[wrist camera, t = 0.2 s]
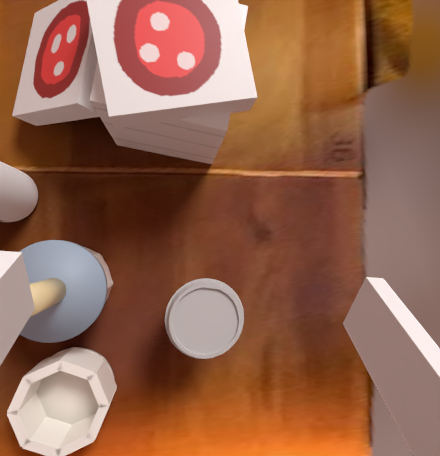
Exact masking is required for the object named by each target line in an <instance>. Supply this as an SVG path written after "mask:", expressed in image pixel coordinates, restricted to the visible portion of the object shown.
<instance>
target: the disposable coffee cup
mask: <svg viewBox="0 0 440 456" xmlns="http://www.w3.org/2000/svg"><path fill="white" fill-rule="evenodd" d="M243 324H244V312H243V307H242V304H241V301H240V299H239V297H238V296H237V294H236V293H235V292H234V291H233V289H232V288H230V287H229V286H228V285H227V284H225V283H223V282H221V281H218V280H215V279H208V278H205V279H197V280H194V281H191V282H189V283H187V284H185V285H183V286H182V287H181V288H180V289H178V290H177V291H176V293H175V294H174V295H173V296H172V298H171V300H170V301H169V303H168V306H167V309H166V314H165V327H166V332H167V334H168V336H169V339H170V341H171V342H172V343H173V345H174V346H175V347H176V348H177V349H178V350H179V351H180V352H182V353H184V354H185V355H187V356H189V357H193V358H197V359H208V358H213V357H216V356H219V355H221V354H223V353H225V352H226V351H227V350H229V349H230V348H231V347H232V346H233V345H234V343H235V342H236V341H237V339H238V338H239V336H240V334H241V331H242V328H243Z"/></svg>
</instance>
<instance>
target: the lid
mask: <svg viewBox="0 0 440 456" xmlns="http://www.w3.org/2000/svg"><path fill="white" fill-rule="evenodd" d="M19 252H22V254H23V258H24V263H25V267H26V271H27V276H28V280H29V284H30V289H31V293H32V298H33V302H34V306H35V309H34V311H33V313H32V314H31V316H30V318H29V319H28V321H27V323H26V324H25V326H24V327H23V329H22V331H21V332H20V335H21V336H23V337H25V338H28V339H30V340H33V341H37V342H43V343H54V342H61V341H65V340H68V339H71V338H73V337H75V336H77V335H79V334H80V333H82V332H83V331H85V330H86V329H87V328H88V327H89V326H90V325H91V324H92V323H93V322H94V321H95V320H96V319H97V317H98V316H99V315H100V313H101V311H102V309H103V307H104V304H105V302H106V297H107V290H108V287H107V278H106V274H105V271H104V269H103V267H102V265H101V263H100V262H99V260H98V259H97V258H96V257H95V256H94V255H93V254H92V253H91V252H90V251H89V250H87V249H86V248H84V247H82V246H80V245H78V244H76V243H73V242H69V241H63V240H48V241H42V242H38V243H35V244H32V245H30V246H28V247H26V248H24V249H22V250H21V251H19Z"/></svg>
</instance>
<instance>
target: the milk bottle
mask: <svg viewBox="0 0 440 456" xmlns="http://www.w3.org/2000/svg"><path fill="white" fill-rule="evenodd" d="M37 201H38V190H37V187H36V184H35V183H34V181H33V180H32V179H31V177H29V176H28V175H27V174H25V173H24V172H22V171H20V170H18V169H16V168H13V167H11V166H9V165H7V164H5V163H3V162H0V222H15V221H19V220H22V219H24V218H25V217H27V216H28V215H29V214H30V213H31V212H32V211H33V210H34V208H35V206H36V204H37Z"/></svg>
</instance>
